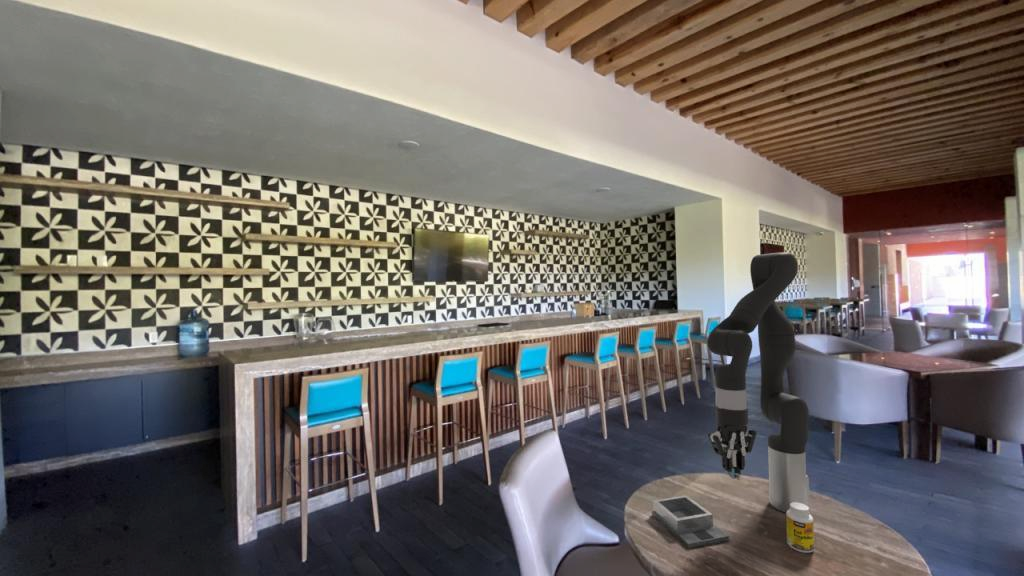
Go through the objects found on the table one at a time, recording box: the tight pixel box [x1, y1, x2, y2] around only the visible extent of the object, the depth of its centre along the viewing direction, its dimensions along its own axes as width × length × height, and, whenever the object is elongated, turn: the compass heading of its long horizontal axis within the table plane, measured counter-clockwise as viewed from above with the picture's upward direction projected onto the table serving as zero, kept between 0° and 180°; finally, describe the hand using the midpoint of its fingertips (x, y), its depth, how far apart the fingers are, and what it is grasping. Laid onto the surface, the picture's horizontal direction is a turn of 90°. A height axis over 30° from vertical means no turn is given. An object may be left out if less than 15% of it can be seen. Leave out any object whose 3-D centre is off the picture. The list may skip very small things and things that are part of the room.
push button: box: [720, 441, 742, 481], centre depth 109 cm, size 7×5×10 cm
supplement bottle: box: [785, 502, 815, 554], centre depth 102 cm, size 6×6×10 cm
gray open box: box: [651, 495, 730, 550], centre depth 112 cm, size 12×16×4 cm
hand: (733, 469), depth 109 cm, fingers closed on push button, 3 cm apart
